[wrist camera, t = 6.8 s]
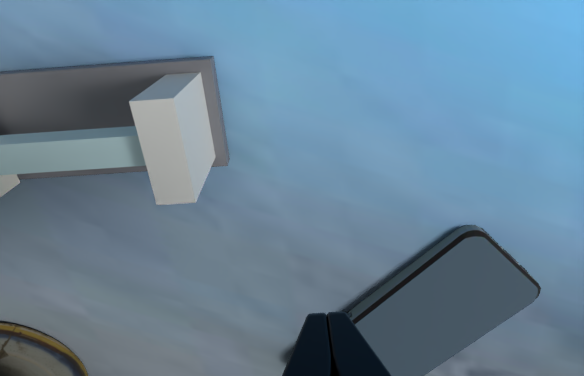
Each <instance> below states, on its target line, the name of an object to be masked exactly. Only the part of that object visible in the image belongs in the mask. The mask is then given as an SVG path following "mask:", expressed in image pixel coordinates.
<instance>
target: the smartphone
mask: <svg viewBox="0 0 584 376" xmlns="http://www.w3.org/2000/svg"><path fill="white" fill-rule="evenodd" d="M540 290H541V288H540V286H539V284H538V283H537V282H536V280H535V279H534V278H533V277H532V276H531V275H530V274H529V273H528V272H527V271H526V270H525V269H524V268H523V267H522V266H521V265H519V263H518V262H517V261H516V260H515V259H514V258H513V257H512V256H510V255H509V254H508V253H507V252H506V251H505V250H504V249H503V248H502V247H501V246H499V245H498V243H497V242H496V241H495V240H494V239H492V237H491V236H489V234H487V232H486V231H484V230H483V229H482V228H480V227H478V226H476V225H466V226H462V227H460V228H458V229H457V230H455V231H454V232H453V233H451V234H450V235H449V236H447V237H446V238H445V239H443V240H442V241H441V242H439V243H438V244H437V245H435V246H434V247H433V248H432V249H430V250H429V251H428V252H426V253H425V254H424V255H422V256H421V257H420V258H418V259H417V260H416V261H414V262H413V263H412V264H410V265H409V266H408V267H406V268H405V269H404V270H402V271H401V272H400V273H399V274H397V275H396V276H395V277H393V278H392V279H391V280H389V281H388V282H387V283H385V284H384V285H383V286H381V287H380V288H379V289H377V290H376V291H375V292H373V293H372V294H371V295H370V296H368V297H367V298H366V299H364V300H363V301H362V302H360V303H359V304H358V305H357V306H355V307H354V308H353V309H352V310H350V311H349V312H348V313H347V315H348V316H349V318H350V319H351V320H352V322H353V323H354V324H355V326H356V327H357V329H358V330H359V331H360V333H361V334H362V336H363V337H364V338H365V340H366V341H367V342H368V344H369V345H370V347H371V348H372V349H373V351H374V352H375V353H376V355H377V356H378V358H379V359H380V360H381V362H382V363H383V365H384V366H385V367H386V369H387V370H388V371H389V373H390V374H391V376H424V375H425V374H427V373H428V372H430V371H431V370H433V369H434V368H436V367H437V366H439V365H440V364H442V363H443V362H445V361H446V360H448V359H449V358H451V357H452V356H454V355H455V354H457V353H458V352H460V351H461V350H463V349H464V348H466V347H467V346H469V345H470V344H472V343H473V342H475V341H476V340H478V339H479V338H480V337H482V336H483V335H485V334H486V333H488V332H489V331H491V330H492V329H494V328H495V327H497V326H498V325H500V324H501V323H503V322H504V321H506V320H507V319H509V318H510V317H512V316H513V315H515V314H516V313H518V312H519V311H521V310H522V309H524V308H525V307H527V306H528V305H530V304H531V303H533V302H534V300H535V299H536V298H537V297H538V296H539V294H540Z"/></svg>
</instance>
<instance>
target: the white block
mask: <svg viewBox="0 0 584 376" xmlns="http://www.w3.org/2000/svg"><path fill="white" fill-rule="evenodd" d="M19 183H20V181H19V178H18V176H17V174H12V175H0V197H2V196H3V195H4V194H6V193H7V192H8V191H10V190H11V189H13V188H14V187H15V186H17V185H18V184H19Z"/></svg>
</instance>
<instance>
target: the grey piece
mask: <svg viewBox="0 0 584 376" xmlns="http://www.w3.org/2000/svg"><path fill="white" fill-rule="evenodd" d="M229 160H230V158H229V152H228V146H227V139H226V133H225V127H224V120H223V114H222V108H221V101H220V95H219V89H218V82H217V76H216V69H215V63H214V57H213V56H210V57H196V58H182V59H169V60H155V61H141V62H128V63H114V64H101V65H87V66H73V67H60V68H46V69H33V70H19V71H5V72H0V175H12V174H17V176H18V178H19V179H34V178H49V177H65V176H80V175H95V174H110V173H125V172H141V171H148V174H149V178H150V182H151V185H152V189H153V193H154V197H155V200H156V204H157V205H166V204H182V203H196V201H197V199H198V196H199V194H200V192H201V189H202V187H203V185H204V183H205V180H206V178H207V176H208V173H209V171H210V169H211V167H217V166H227V165H228V163H229Z"/></svg>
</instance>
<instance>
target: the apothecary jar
mask: <svg viewBox="0 0 584 376" xmlns="http://www.w3.org/2000/svg"><path fill="white" fill-rule="evenodd" d="M0 376H88V374H87V371H86V369H85V367H84V365H83V364H82V362H81V361H80V360H79V358H78V357H77V356H76V355H75V354H74V353H73V352H72V351H71V350H70V349H68V348H67V347H66V346H65V345H63V344H62V343H60V342H59V341H57V340H55V339H54V338H52V337H50V336H48V335H45V334H43V333H41V332H39V331H36V330H34V329H30V328H27V327H24V326H19V325H16V324H11V323H1V322H0Z"/></svg>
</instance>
